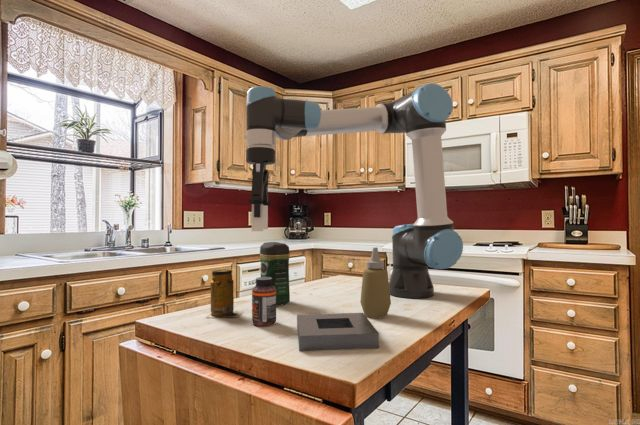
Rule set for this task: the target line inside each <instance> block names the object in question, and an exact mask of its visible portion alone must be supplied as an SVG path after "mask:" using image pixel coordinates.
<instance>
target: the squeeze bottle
mask: <svg viewBox="0 0 640 425" xmlns="http://www.w3.org/2000/svg"><path fill="white" fill-rule="evenodd" d="M371 251H372V252H371V257H370V260H366V268H365V269H364V270H363V271H362V278H361V279H362V281H361V291H360V302H359V303H360V305H361V306H360V307H361V308H362V310H363V312H362V313H364V315H365V316H366V317H367V318H371V319H382V318H386V317H387V316H388V313H389V311H390V307H391V305H392V302H391V301H392V300H391V295H390V290H389V281H390V279H389V271H388V270H387V269H384V268H385V261H383V260H381V259H380V254H379V250H378V247H372V250H371Z"/></svg>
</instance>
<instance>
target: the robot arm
mask: <svg viewBox="0 0 640 425" xmlns="http://www.w3.org/2000/svg"><path fill="white" fill-rule="evenodd" d="M453 105H454V104H453V99H452V97H451V95H450V93H449V92H448V91H447V90H446V89H445V88H444V87H443V86H442V85H439V84H437V83H426V84H424V85H420V86H417V87H416V88H415V89H414V90H412V91H410V92H408V93H406V94H405V95H403V96H401V97H399V98H397V99H395V100H392V101H389V102H385V103H378V104H377V105H375V106H373V107H356V108H355V107H354V108H339V109H338V108H336V109H335V108H334V109H321V106H320V104H319V103H318V102H314V101H310V100H306V99H305V100H302V99H300V100H299V99H289V98H281V97H277V93H276V90H275V89H274V88H272V87H269V86H266V85H262V86H261V85H258V86H253V87H251V88H249V89H248V91H247V92H246V106H245V107H246V109H245V110H246V114H245V115H246V121H245V122H246V134H245V135H244V136H243V139H244V140H246V144H245V146H246V147H247V148H246V149H245V152H246V153H245V162H246V164H248V165H252V172H251V174H252V179H251V195H250V199H248V204H250V205H251V232H264V230H268V228H269V226H268V225H269V224H268V223H269V213H268V212H269V209H268V208H269V206H271V201H269V187H268V186H269V177H270V173H269V170H268V169H267V166H268V165H270V166H271V165H274V164H276V150H275V148H276V144H277V143H276V141H277V140H276V138H278V139H279V140H282V141H289V140H291V139H293V138H301V137H311V136H325V135H338V134H352V133H353V134H354V133H367V132H376V133H378V134H379V135H381V134H382V135H383V134H384V135H385V134H405V135H406V136H407V137H408V138H409V139H410V140H411V145H412V160H413V161H412V162H413V173H414V185H415V198H416V199H415V200H416V201H415V202H416V213H417V219H416V220H415V222H414V223H409V224H408V223H407V224H401V225H395V226H394V228H392V235H391V240H392V271H391V275H390V278H389V290H390V296H393V297H398V298H406V299H423V298H424V299H425V298H430V297H433V296H434V295H435V287H434V284H433V281H432V278H431V274H430V272H429V268H431V269H435V270H436V269H440V270H445V269H449V268H451V267H453V266H455V265H456V264H457V262H458V261H459V260H460V259H461V257H462V255H463V251H464V242H463V238H462V237H461V235H459V233H458V232H457V231H455V229H454V228H455V227H454V221H453V220H452V219H450V218H449V216H448V209H447V207H448V206H447V194H446V182H445V181H446V180H445V169H444V167H445V166H444V156H443V155H444V154H443V142H442V136H443V135H444V134H445V133H446V131H447V125H446V124H447V123H446V121H447V120H448V119H449V118H450V116H451V114H452V112H453V107H454V106H453Z"/></svg>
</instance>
